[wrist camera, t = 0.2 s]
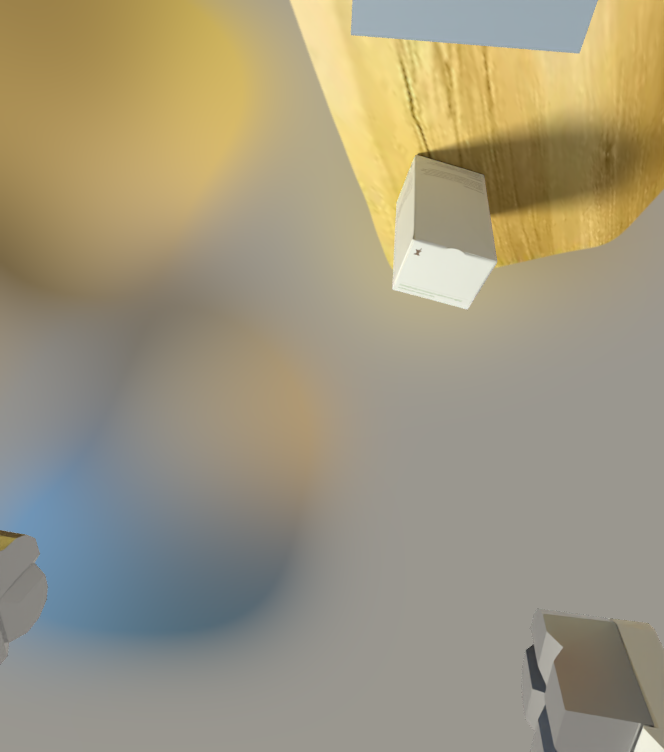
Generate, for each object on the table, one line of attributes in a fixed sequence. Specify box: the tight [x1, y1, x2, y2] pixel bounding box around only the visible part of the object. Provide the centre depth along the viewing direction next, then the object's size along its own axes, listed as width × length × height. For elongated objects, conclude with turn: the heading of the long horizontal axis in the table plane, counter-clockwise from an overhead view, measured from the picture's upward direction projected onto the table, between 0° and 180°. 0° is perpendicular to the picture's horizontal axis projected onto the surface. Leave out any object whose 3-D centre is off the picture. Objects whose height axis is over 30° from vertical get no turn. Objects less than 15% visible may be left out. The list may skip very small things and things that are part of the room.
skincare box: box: [392, 155, 497, 309], centre depth 55 cm, size 8×7×16 cm
